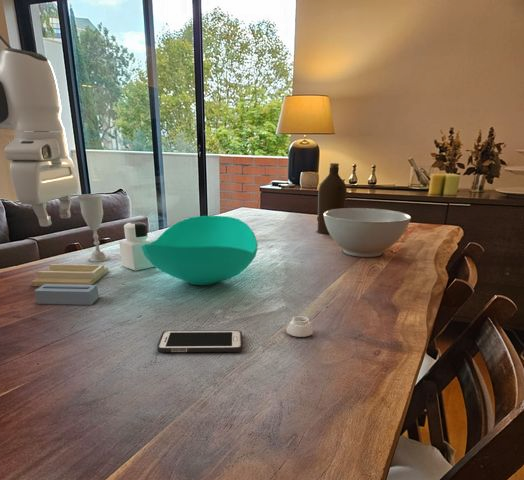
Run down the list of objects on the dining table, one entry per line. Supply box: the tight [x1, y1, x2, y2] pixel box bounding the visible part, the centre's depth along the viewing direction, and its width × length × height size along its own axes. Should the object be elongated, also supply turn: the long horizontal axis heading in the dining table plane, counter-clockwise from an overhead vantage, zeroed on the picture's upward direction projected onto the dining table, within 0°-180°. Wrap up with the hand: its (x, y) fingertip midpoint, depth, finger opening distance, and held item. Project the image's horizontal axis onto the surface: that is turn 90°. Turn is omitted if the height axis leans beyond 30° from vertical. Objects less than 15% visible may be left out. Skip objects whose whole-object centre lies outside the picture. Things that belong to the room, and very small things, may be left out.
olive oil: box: [316, 162, 348, 235], centre depth 174 cm, size 11×11×25 cm
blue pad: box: [34, 284, 100, 306], centre depth 102 cm, size 12×5×3 cm, turn 89°
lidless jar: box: [286, 315, 314, 338], centre depth 87 cm, size 5×3×5 cm
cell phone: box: [156, 329, 243, 353], centre depth 82 cm, size 8×15×1 cm, turn 93°
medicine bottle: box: [119, 221, 156, 271], centre depth 127 cm, size 7×7×12 cm
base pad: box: [31, 263, 109, 287], centre depth 117 cm, size 14×14×3 cm
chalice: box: [76, 194, 109, 262], centre depth 132 cm, size 7×7×18 cm
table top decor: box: [142, 215, 259, 286], centre depth 114 cm, size 40×28×13 cm
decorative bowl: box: [324, 207, 412, 258], centre depth 146 cm, size 27×27×12 cm
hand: (56, 221), depth 94 cm, fingers open, 8 cm apart
